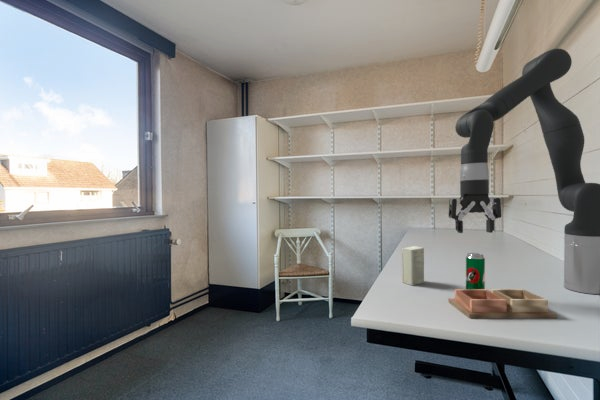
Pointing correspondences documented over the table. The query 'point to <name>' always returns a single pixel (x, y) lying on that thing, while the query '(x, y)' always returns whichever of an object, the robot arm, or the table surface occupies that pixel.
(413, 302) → the table surface
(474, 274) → the soda can
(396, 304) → the table surface
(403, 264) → the skincare box
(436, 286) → the table surface
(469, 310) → the can rack
